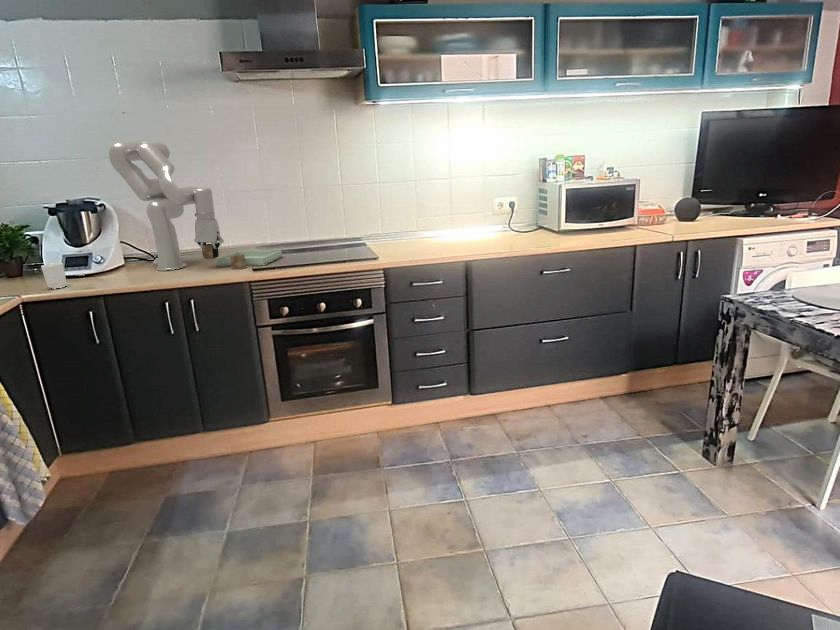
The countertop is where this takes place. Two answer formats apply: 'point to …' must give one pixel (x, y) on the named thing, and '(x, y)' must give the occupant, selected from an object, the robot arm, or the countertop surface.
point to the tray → (251, 257)
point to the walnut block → (208, 251)
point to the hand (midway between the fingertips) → (210, 256)
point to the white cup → (54, 274)
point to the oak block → (238, 261)
